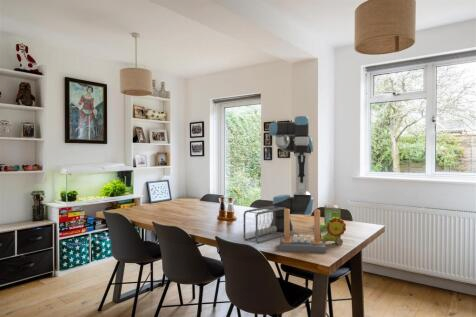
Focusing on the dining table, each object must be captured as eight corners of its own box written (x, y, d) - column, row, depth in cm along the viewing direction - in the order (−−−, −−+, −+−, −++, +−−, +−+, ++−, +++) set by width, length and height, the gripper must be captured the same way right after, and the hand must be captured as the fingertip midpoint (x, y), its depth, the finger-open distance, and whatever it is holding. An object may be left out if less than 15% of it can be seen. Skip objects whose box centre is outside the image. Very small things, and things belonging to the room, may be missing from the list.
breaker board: (279, 244, 182) (279, 239, 182) (323, 246, 178) (323, 240, 178) (279, 250, 170) (279, 245, 170) (326, 252, 166) (326, 247, 166)
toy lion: (319, 245, 180) (319, 218, 180) (316, 242, 186) (316, 216, 186) (347, 245, 181) (347, 218, 181) (343, 242, 186) (343, 216, 186)
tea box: (340, 229, 218) (340, 207, 218) (325, 228, 220) (325, 207, 220) (338, 224, 233) (338, 204, 233) (324, 224, 235) (324, 204, 235)
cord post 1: (282, 240, 178) (282, 208, 178) (291, 241, 177) (291, 208, 177) (282, 243, 173) (282, 210, 173) (291, 243, 173) (291, 210, 172)
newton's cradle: (273, 232, 212) (273, 205, 211) (287, 234, 205) (287, 206, 204) (243, 241, 190) (243, 210, 190) (256, 244, 183) (256, 213, 182)
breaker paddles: (293, 241, 176) (293, 234, 176) (310, 242, 174) (310, 235, 174) (293, 242, 174) (293, 235, 174) (310, 243, 173) (310, 236, 172)
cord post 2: (312, 242, 176) (312, 209, 176) (321, 242, 175) (321, 209, 175) (312, 244, 171) (312, 210, 171) (322, 245, 170) (322, 211, 170)
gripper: (294, 145, 181) (294, 187, 181) (294, 144, 168) (294, 189, 168) (307, 145, 180) (307, 187, 180) (309, 144, 167) (309, 190, 167)
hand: (301, 188), depth 174 cm, fingers closed
